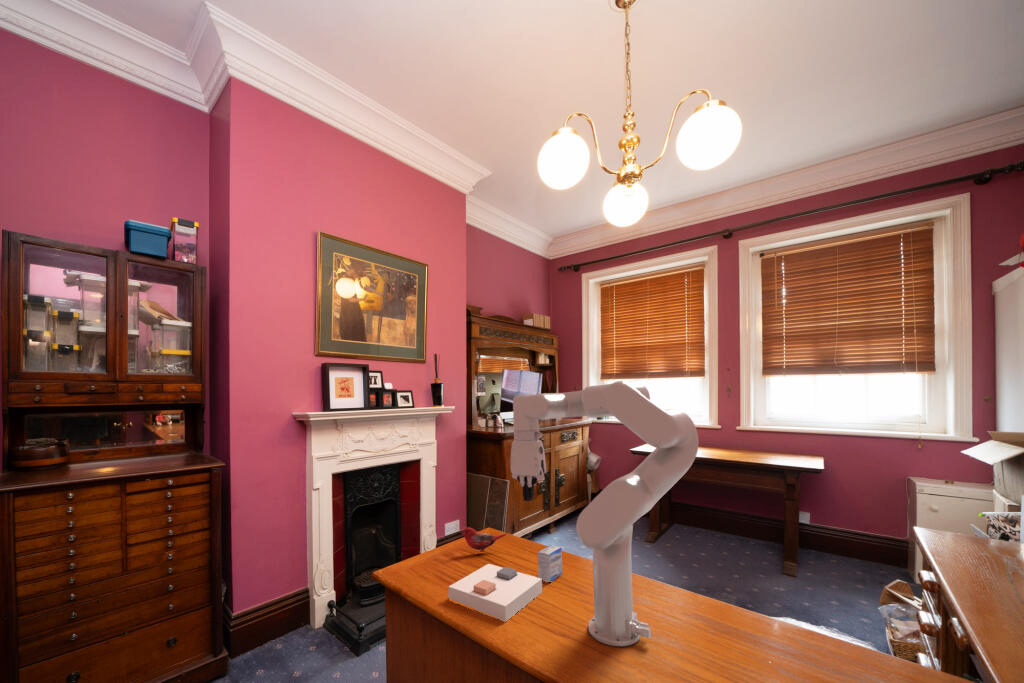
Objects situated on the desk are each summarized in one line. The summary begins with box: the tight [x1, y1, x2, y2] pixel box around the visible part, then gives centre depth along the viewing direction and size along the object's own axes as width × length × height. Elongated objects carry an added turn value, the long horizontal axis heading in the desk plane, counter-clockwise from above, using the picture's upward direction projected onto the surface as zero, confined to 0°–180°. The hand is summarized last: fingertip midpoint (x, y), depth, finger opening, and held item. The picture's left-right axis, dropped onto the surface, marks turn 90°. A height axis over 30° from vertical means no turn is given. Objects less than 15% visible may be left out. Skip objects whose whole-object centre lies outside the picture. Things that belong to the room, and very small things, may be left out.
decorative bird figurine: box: [461, 526, 508, 552], centre depth 154 cm, size 3×18×10 cm, turn 107°
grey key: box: [497, 566, 518, 581], centre depth 126 cm, size 4×4×3 cm
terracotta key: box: [474, 580, 496, 596], centre depth 117 cm, size 4×4×3 cm
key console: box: [448, 563, 543, 623], centre depth 121 cm, size 20×19×4 cm
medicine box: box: [537, 544, 563, 583], centre depth 134 cm, size 8×4×9 cm, turn 143°
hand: (528, 500), depth 121 cm, fingers closed
